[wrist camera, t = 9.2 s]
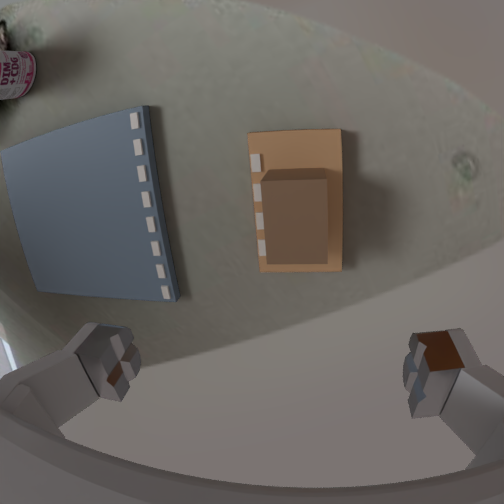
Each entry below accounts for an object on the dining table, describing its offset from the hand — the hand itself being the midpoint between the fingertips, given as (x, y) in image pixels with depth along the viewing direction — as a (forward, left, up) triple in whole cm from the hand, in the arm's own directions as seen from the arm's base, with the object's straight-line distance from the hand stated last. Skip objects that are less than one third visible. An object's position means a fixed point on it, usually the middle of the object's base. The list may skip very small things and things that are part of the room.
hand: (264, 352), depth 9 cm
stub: (0, 0, -15) cm, 15 cm away
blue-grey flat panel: (-19, 0, -16) cm, 25 cm away
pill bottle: (-24, +15, -16) cm, 32 cm away
